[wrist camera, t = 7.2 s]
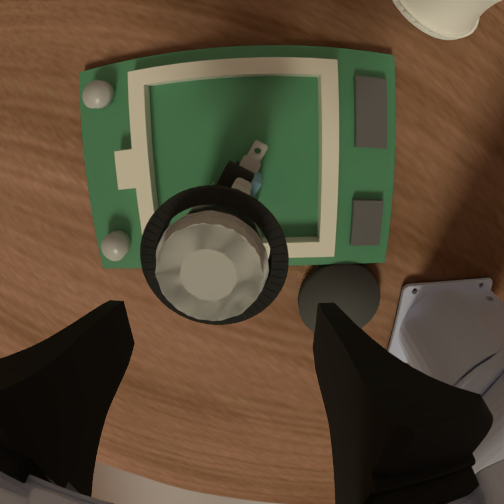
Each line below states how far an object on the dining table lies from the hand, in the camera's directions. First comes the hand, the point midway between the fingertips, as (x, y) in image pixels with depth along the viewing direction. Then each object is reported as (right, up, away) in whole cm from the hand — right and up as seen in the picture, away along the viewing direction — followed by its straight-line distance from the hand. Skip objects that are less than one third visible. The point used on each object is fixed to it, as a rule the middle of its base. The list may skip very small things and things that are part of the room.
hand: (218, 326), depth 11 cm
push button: (0, +6, +8) cm, 10 cm away
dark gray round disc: (+8, -1, +12) cm, 14 cm away
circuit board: (0, +8, +8) cm, 11 cm away
